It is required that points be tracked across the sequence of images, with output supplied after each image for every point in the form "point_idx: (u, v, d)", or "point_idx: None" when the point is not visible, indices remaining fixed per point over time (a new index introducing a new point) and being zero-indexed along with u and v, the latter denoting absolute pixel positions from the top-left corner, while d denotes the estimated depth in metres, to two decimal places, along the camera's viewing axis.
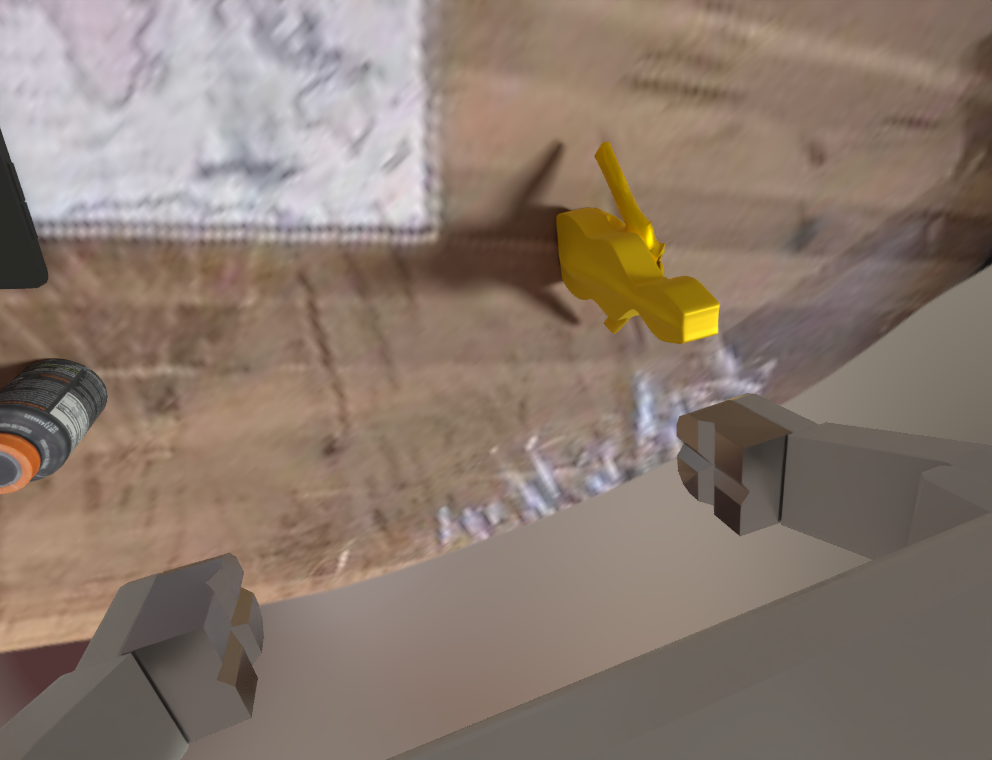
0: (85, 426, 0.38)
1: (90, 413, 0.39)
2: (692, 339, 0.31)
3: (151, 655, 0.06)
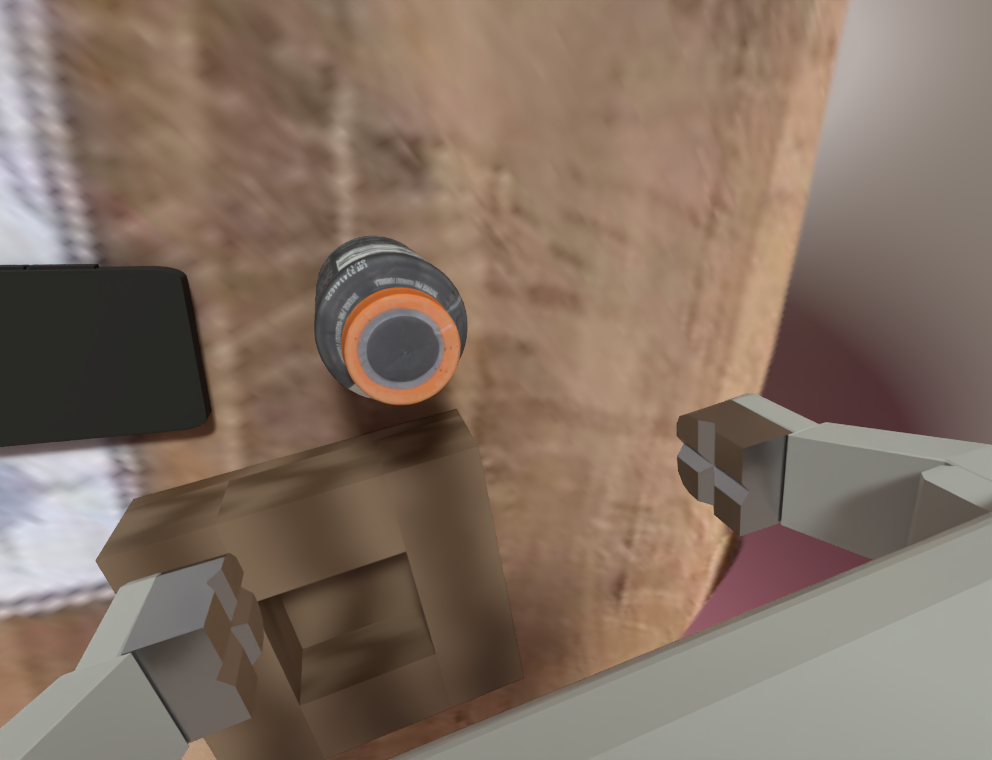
0: (399, 247, 0.22)
1: (385, 243, 0.23)
2: None
3: (151, 655, 0.06)
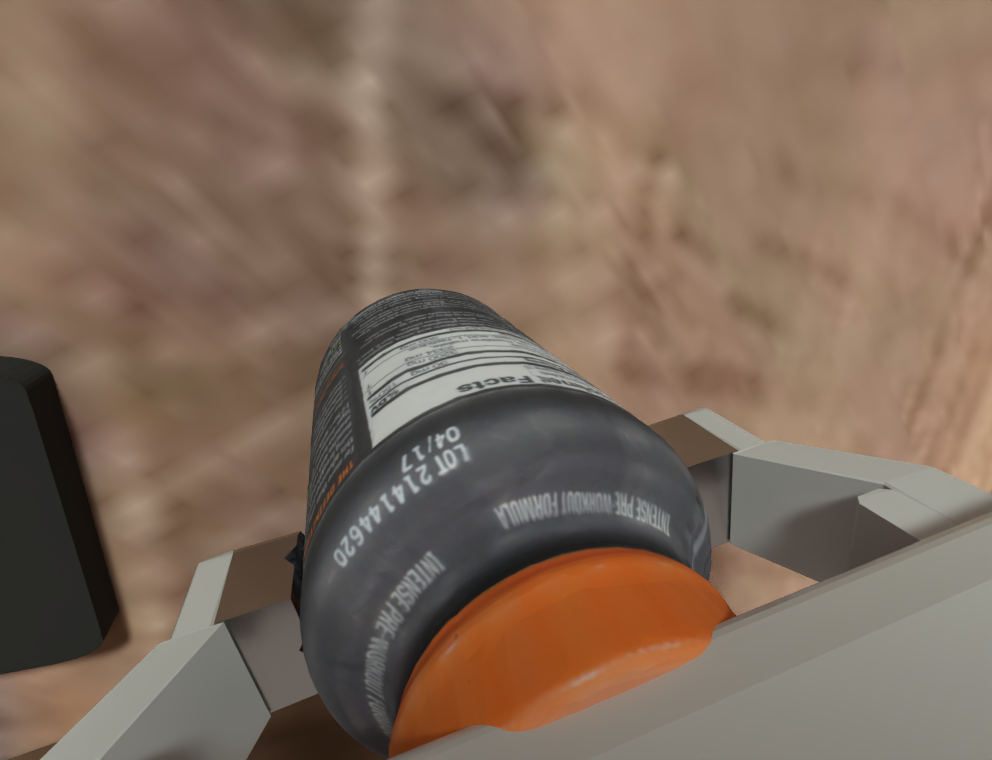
0: (509, 338, 0.09)
1: (468, 320, 0.10)
2: None
3: (241, 625, 0.07)
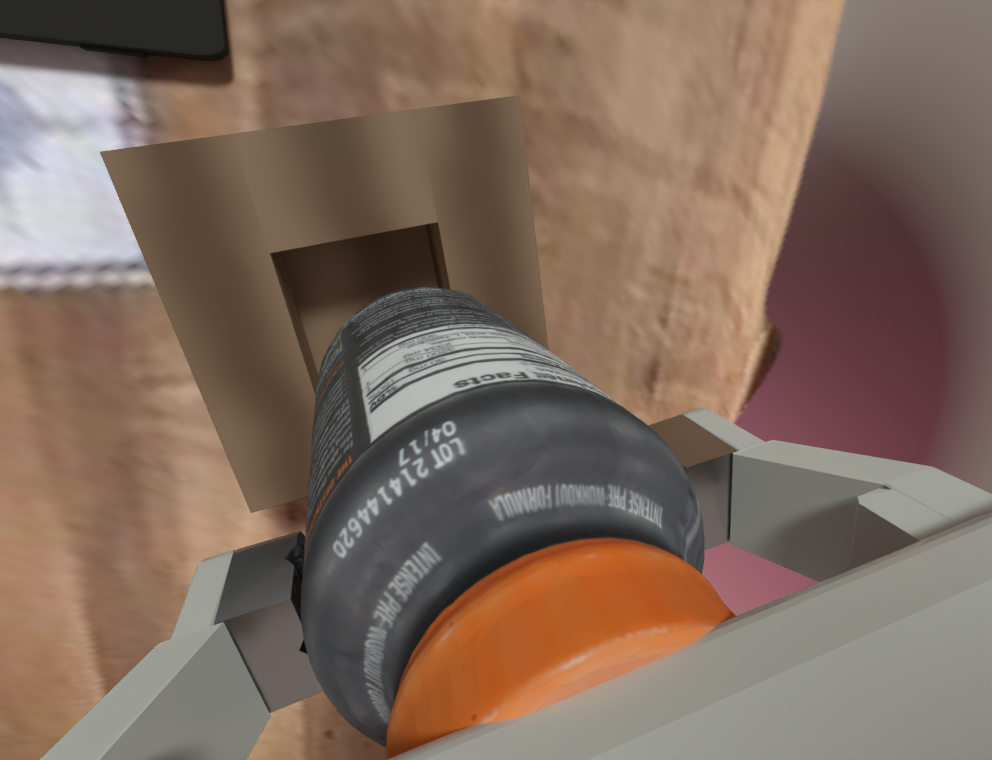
0: (506, 335, 0.09)
1: (466, 318, 0.10)
2: None
3: (241, 625, 0.07)
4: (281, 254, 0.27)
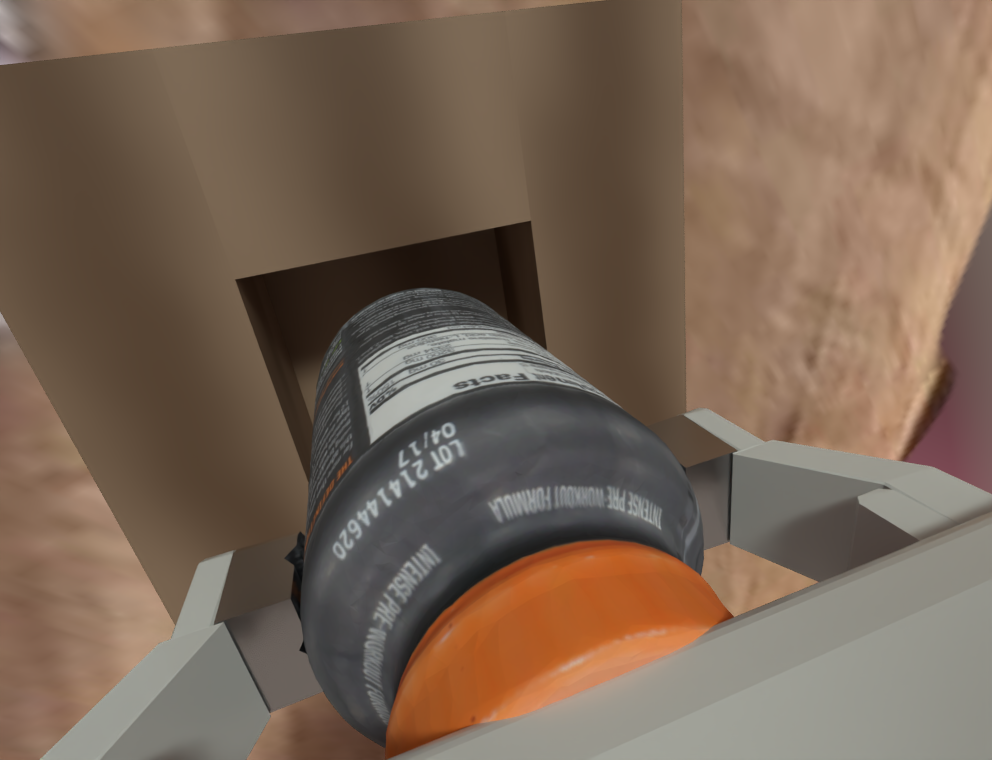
0: (506, 336, 0.09)
1: (466, 319, 0.10)
2: None
3: (241, 625, 0.07)
4: (263, 276, 0.17)
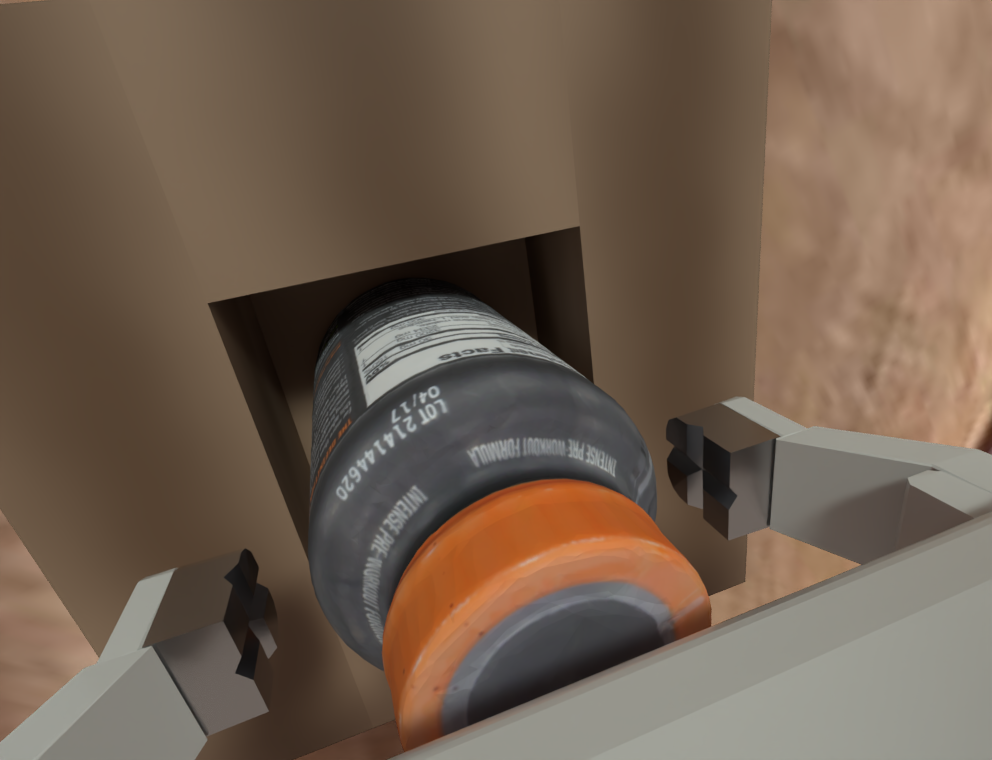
0: (487, 318, 0.10)
1: (452, 304, 0.11)
2: None
3: (171, 648, 0.06)
4: None
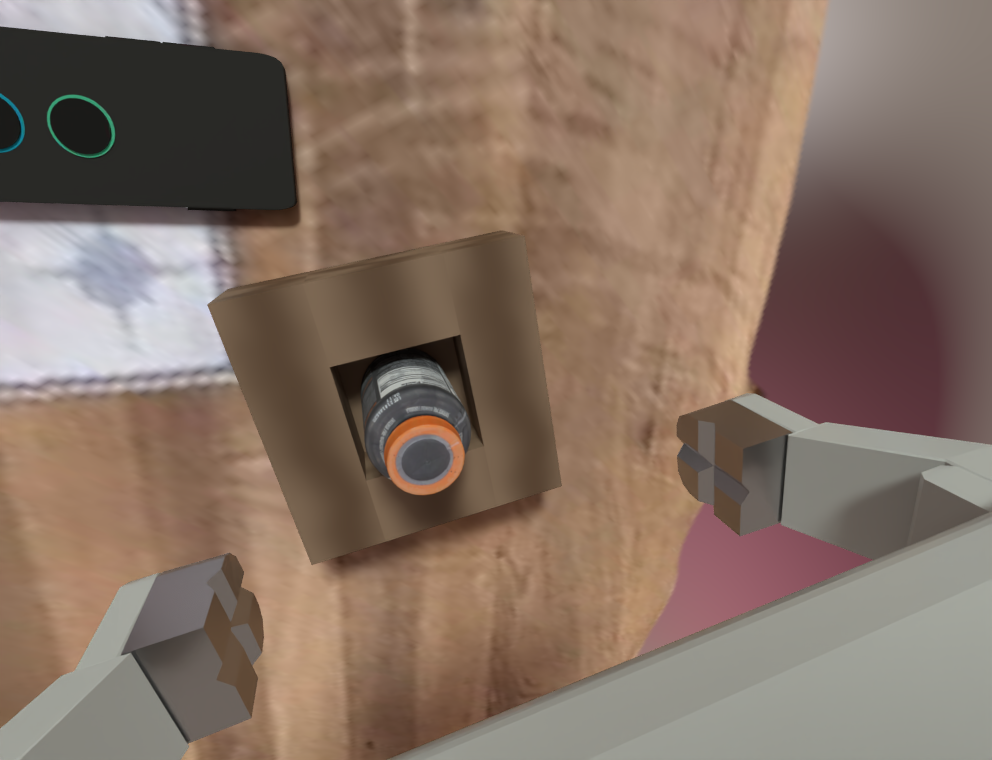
0: (422, 369, 0.30)
1: (412, 363, 0.31)
2: None
3: (151, 655, 0.06)
4: None
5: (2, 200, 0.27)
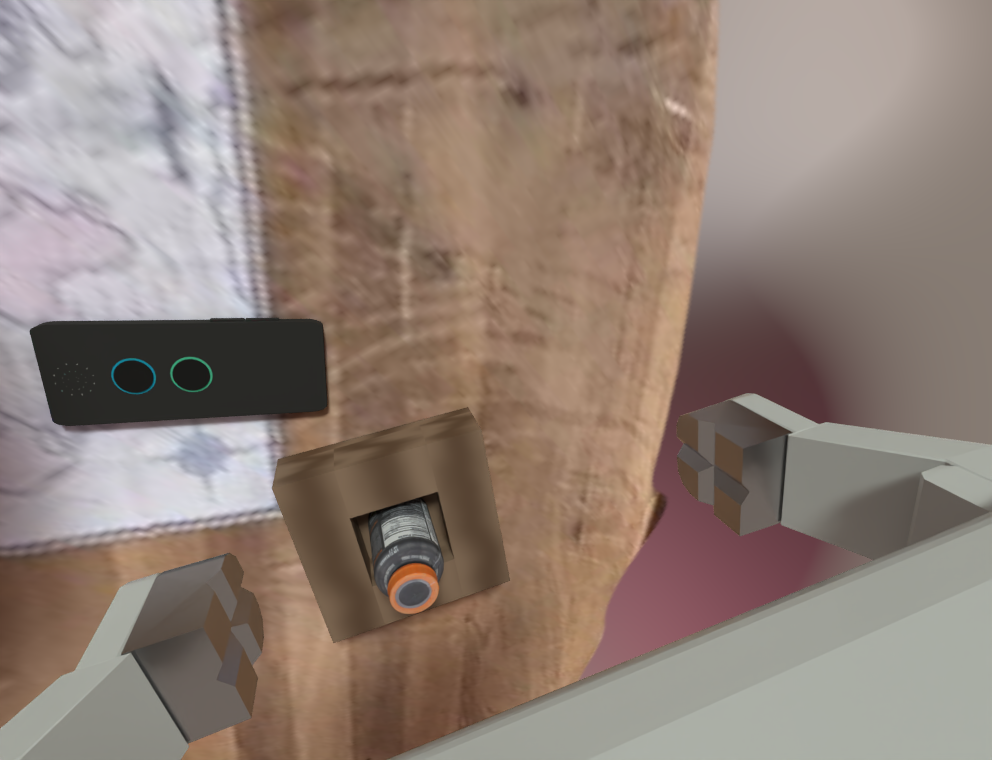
0: (412, 519, 0.45)
1: (404, 511, 0.46)
2: None
3: (151, 655, 0.06)
4: None
5: (137, 421, 0.41)
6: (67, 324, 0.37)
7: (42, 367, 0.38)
